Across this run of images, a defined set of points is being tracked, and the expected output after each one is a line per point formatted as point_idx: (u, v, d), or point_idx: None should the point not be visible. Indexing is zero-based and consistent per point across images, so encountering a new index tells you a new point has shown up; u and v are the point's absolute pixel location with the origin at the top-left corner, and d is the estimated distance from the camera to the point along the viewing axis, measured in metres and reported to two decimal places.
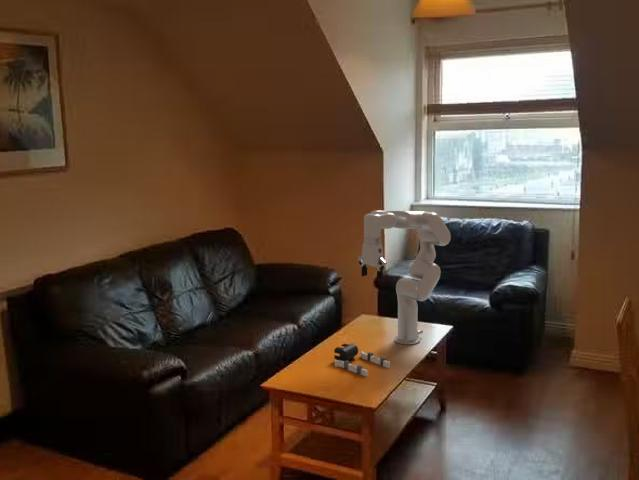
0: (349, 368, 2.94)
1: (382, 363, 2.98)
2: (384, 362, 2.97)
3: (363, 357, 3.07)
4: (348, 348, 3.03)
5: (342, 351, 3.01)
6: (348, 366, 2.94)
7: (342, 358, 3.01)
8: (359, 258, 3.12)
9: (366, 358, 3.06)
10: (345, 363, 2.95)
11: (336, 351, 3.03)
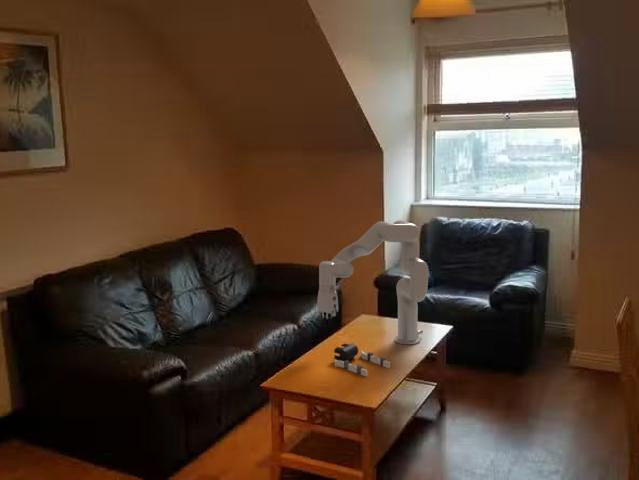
0: (349, 368, 2.94)
1: (382, 363, 2.98)
2: (384, 362, 2.97)
3: (363, 357, 3.07)
4: (348, 348, 3.03)
5: (342, 351, 3.01)
6: (348, 366, 2.94)
7: (342, 358, 3.01)
8: (320, 310, 3.14)
9: (366, 358, 3.06)
10: (345, 363, 2.95)
11: (336, 351, 3.03)
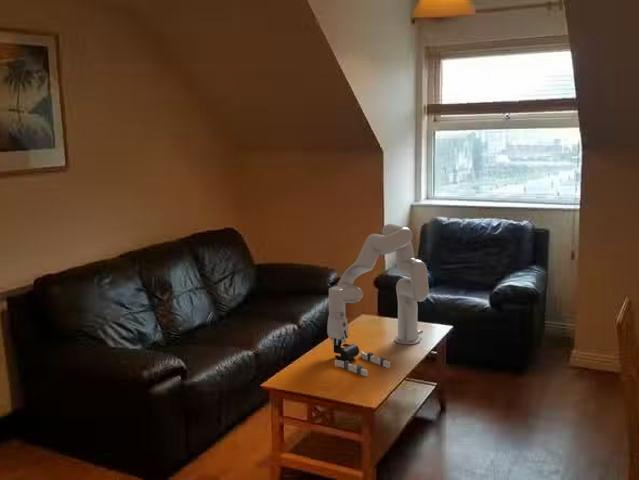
0: (349, 368, 2.94)
1: (382, 363, 2.98)
2: (384, 362, 2.97)
3: (363, 357, 3.07)
4: (349, 348, 3.03)
5: (343, 351, 3.00)
6: (348, 366, 2.94)
7: (343, 358, 3.01)
8: (330, 336, 3.12)
9: (366, 358, 3.06)
10: (345, 363, 2.95)
11: (337, 351, 3.03)
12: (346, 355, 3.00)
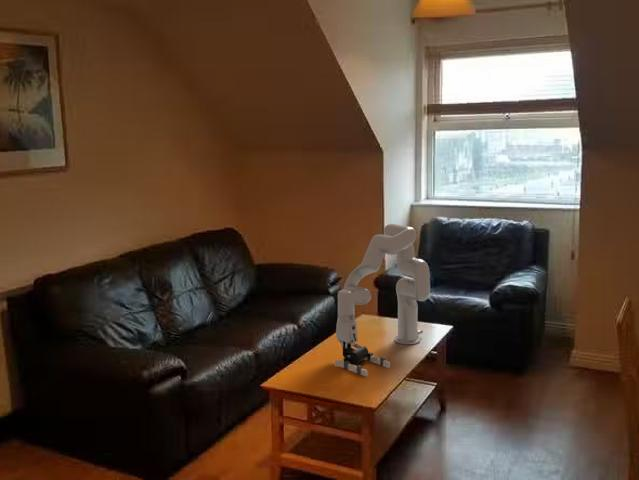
0: (349, 368, 2.94)
1: (382, 363, 2.98)
2: (384, 362, 2.97)
3: None
4: (360, 352, 2.99)
5: (354, 354, 2.96)
6: (348, 366, 2.94)
7: (352, 360, 2.97)
8: (338, 339, 3.07)
9: (366, 358, 3.06)
10: (345, 363, 2.95)
11: (347, 352, 2.99)
12: (356, 359, 2.96)
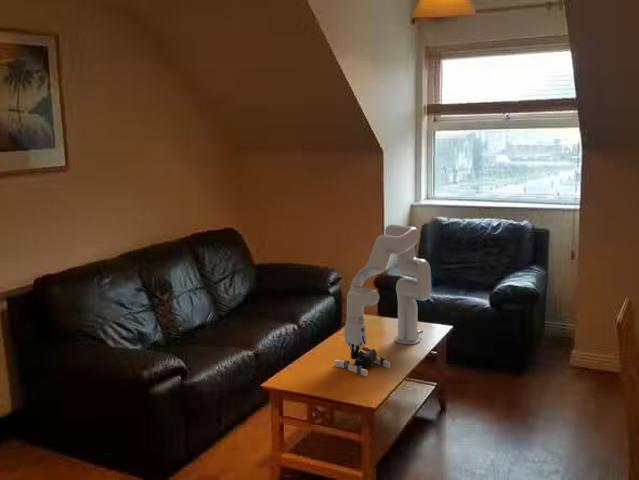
0: (349, 368, 2.94)
1: (382, 363, 2.98)
2: (384, 362, 2.97)
3: None
4: (372, 355, 2.95)
5: (367, 358, 2.92)
6: (348, 366, 2.94)
7: (365, 364, 2.93)
8: (347, 341, 3.02)
9: None
10: (345, 363, 2.95)
11: (359, 356, 2.93)
12: (369, 362, 2.92)
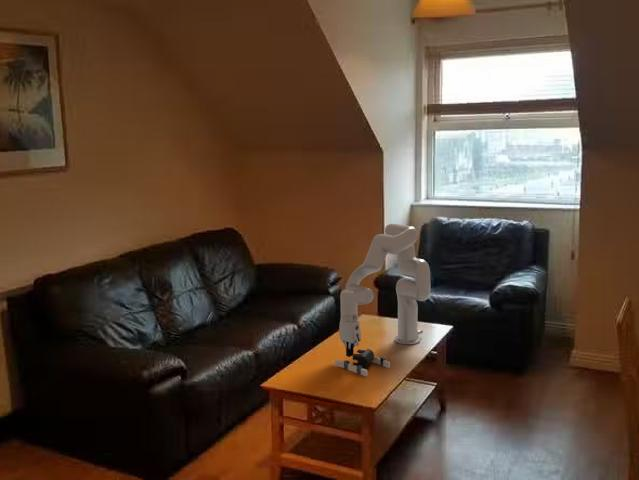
0: (349, 368, 2.94)
1: (382, 363, 2.98)
2: (384, 362, 2.97)
3: None
4: (366, 354, 2.96)
5: (362, 357, 2.93)
6: (348, 366, 2.94)
7: (362, 365, 2.93)
8: None
9: None
10: (345, 363, 2.95)
11: (354, 358, 2.95)
12: (365, 361, 2.92)
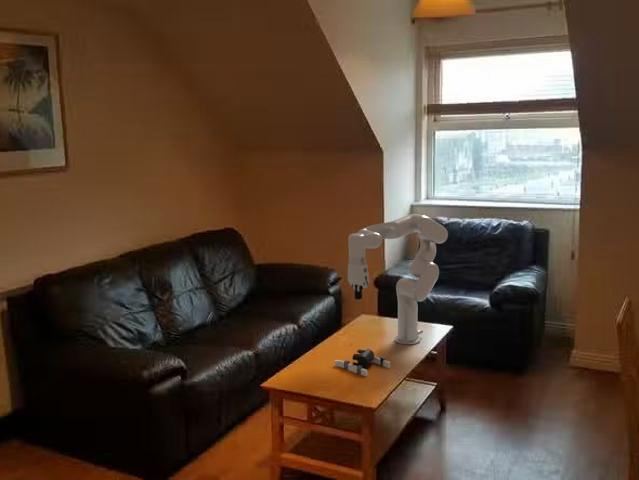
0: (349, 368, 2.94)
1: (382, 363, 2.98)
2: (384, 362, 2.97)
3: None
4: (366, 354, 2.96)
5: (362, 357, 2.93)
6: (348, 366, 2.94)
7: (362, 365, 2.93)
8: (350, 283, 3.13)
9: None
10: (345, 363, 2.95)
11: (354, 358, 2.95)
12: (365, 361, 2.92)
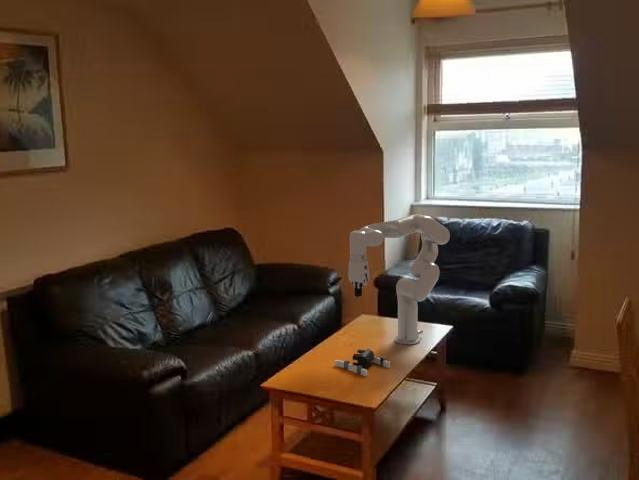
0: (349, 368, 2.94)
1: (382, 363, 2.98)
2: (384, 362, 2.97)
3: None
4: (366, 354, 2.96)
5: (362, 357, 2.93)
6: (348, 366, 2.94)
7: (362, 364, 2.93)
8: (350, 280, 3.14)
9: None
10: (345, 363, 2.95)
11: (354, 358, 2.95)
12: (365, 361, 2.92)
